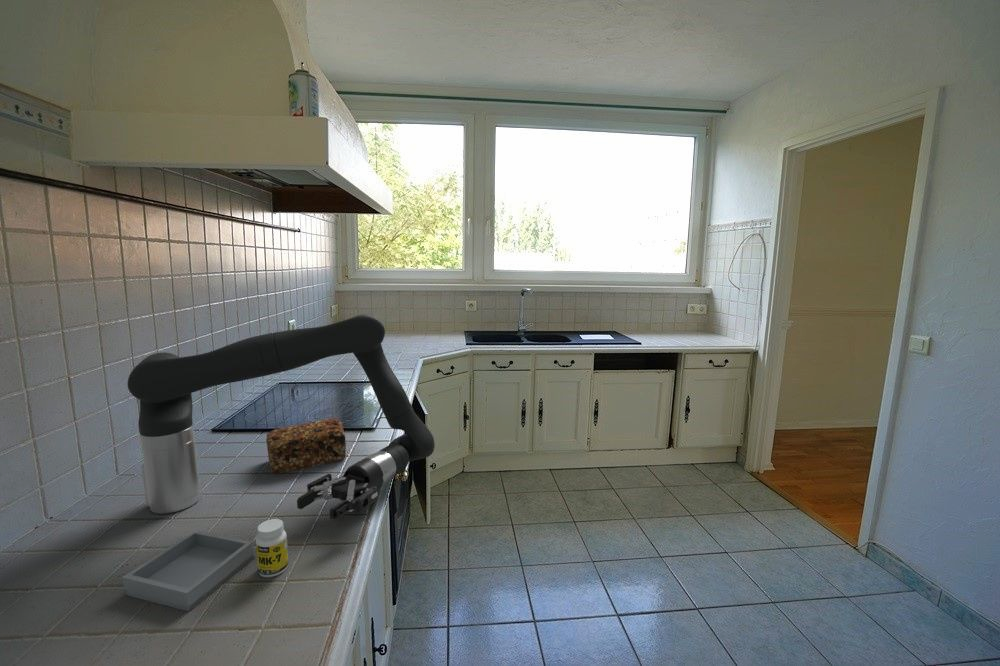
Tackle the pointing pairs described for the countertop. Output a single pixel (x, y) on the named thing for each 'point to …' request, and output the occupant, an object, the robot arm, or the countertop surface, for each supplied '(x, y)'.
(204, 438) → the countertop surface
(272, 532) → the supplement bottle
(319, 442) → the bread
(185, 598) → the bin
